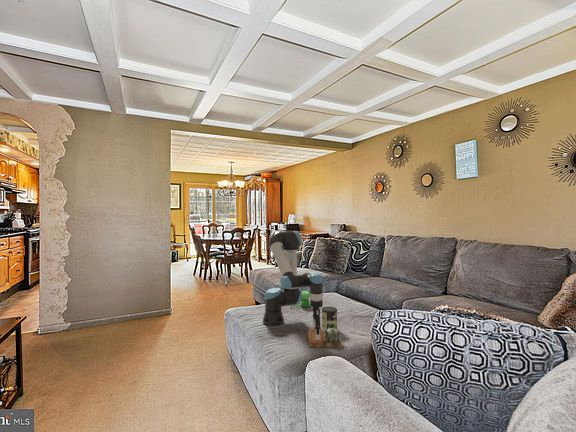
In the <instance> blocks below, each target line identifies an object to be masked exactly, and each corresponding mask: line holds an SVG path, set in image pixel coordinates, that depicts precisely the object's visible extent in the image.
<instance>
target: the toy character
mask: <svg viewBox="0 0 576 432" xmlns="http://www.w3.org/2000/svg"><path fill="white" fill-rule="evenodd" d="M294 306H299V307H302V308H306V307H307V308H308V307H311V306H310V291H307V290H304V289H303V290H302V300H301V302H300V303H299V304H296V305H290V309H291V308H292V309H293V307H294Z"/></svg>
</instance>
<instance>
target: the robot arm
mask: <svg viewBox="0 0 576 432" xmlns="http://www.w3.org/2000/svg"><path fill="white" fill-rule="evenodd" d="M302 239H303V238H302V236H301V234H300V232H299V231H297V230H286V231H285V230H283V231H279V230H278V231H275V232H274V233H272V235H271V236H270V238H269V240H268V247H269V251H270V252H272V255H273V256H274V259H275V262H276V264H277V268H278V269H279V272H280V275H281V277H280V278H279V279H280V281H279V282H280V286H281V288H280V287H273V288H269V289H267V290H266V291H265V292H264V308H265V309H264V310H265V311H264V314H263V317H262V323H263V325H266V326H271V327H272V326H274V327H276V326H280V325H283V324H285V323H284V322H285V317H284V315H283V312H282V311H283V310H282V307H289V306H290V307H291V306H293V305H294V306H297V305H296V304H299V303H301V300H302V292H303V290H302V289H301V288H304V287H308V288H309V293H310V297H309V303H310V306H309V307H311V308H312V319H313V320H312V321H313V322H312V323H313V325H312V328H314V329H315V340H320V329H322V326H321V310H320V308H323V307H324V305H323V301H324V300H323V297H324V295H325V294H324V293H323V287H324V286H323V284H324V283H323V282H324V281H323V279H324V278H323V275H322V274H321V273H318V272H315V273H309V272H304V273H302V274H298V273H297V271H298V270H297V269H298V268H297V267H298V266H297V265H298V264H297V263H298V262H297V258H298V257H297V256H298V255H297V254H298V253H297V252H298V251H299V249H300V247H301V246H302V244H303V243H302ZM299 305H300V304H299Z"/></svg>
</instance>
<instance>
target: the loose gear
mask: <svg viewBox="0 0 576 432" xmlns="http://www.w3.org/2000/svg"><path fill="white" fill-rule="evenodd" d="M308 336H309V338H308V342H313V343H314V344H315V343H319V344H321V342H324V336H325V332H324V329H322V328H321V329H320V340H315V329H314V328H313V327H311V329H310V328H309V329H308Z"/></svg>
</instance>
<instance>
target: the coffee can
mask: <svg viewBox="0 0 576 432" xmlns="http://www.w3.org/2000/svg"><path fill="white" fill-rule="evenodd" d="M328 328H335V329H338V308H336V306H335V307H334V306H322V307H321V329H324V333H325V329H328Z"/></svg>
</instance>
